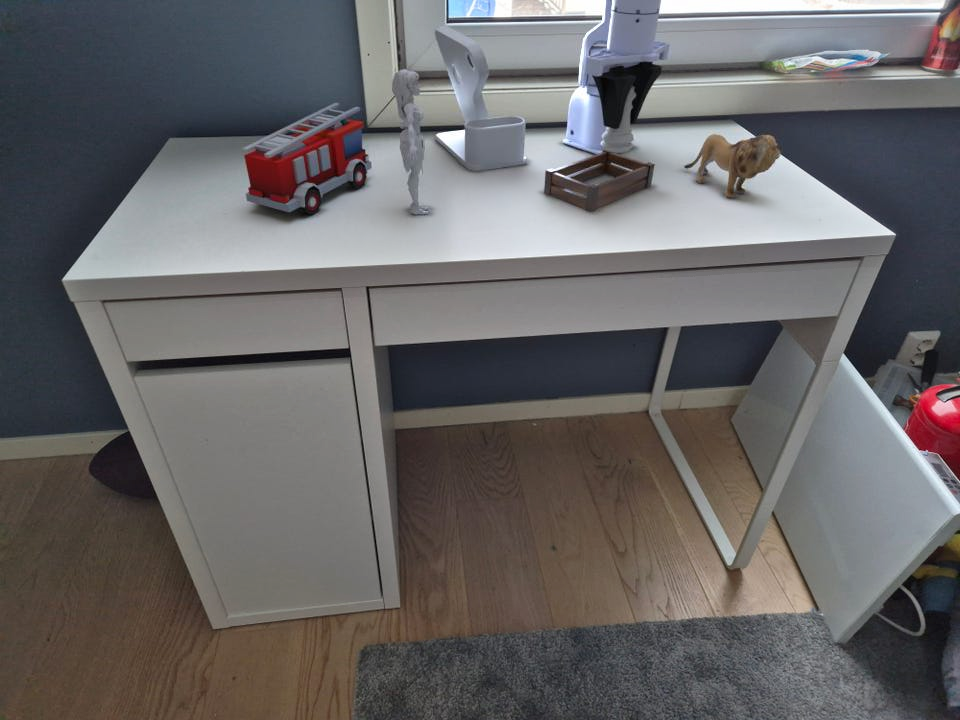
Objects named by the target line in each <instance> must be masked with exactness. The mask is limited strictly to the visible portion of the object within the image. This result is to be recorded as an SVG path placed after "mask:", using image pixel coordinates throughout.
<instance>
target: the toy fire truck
mask: <svg viewBox="0 0 960 720" xmlns="http://www.w3.org/2000/svg"><path fill="white" fill-rule="evenodd" d="M340 105H341V104H340V103H339V102H334V103H332V104H329V105H328V106H326V107H324V108H321V109H319V110H317V111H316V112H313V113H311V114H310V115H307V116H305V117H303V118H301V119H298V120H297V121H295V122H293V123H291V124H289V125H287V126H285V127H283V128H281V129H279V130H276V131H274V132H272V133H270V134H269V135H266V136H265V137H263V138H261V139H259V140H256V141H255V142H253V143H250V144H248V145H246V146H244V147H242V148H241V151H242V153H245V154H244V155H243V156H244V161H245V166H246V171H247V176H248V180H249V187H248V188H247V189H248V192H246V193H245V198H246V202H250V203H253V204H256V205H261V206H265V207H268V208H271V209H276V210H279V211H283V212H286V213H291V212H293V211H296V210H297V209H299V210H300V212H302V213H305V214H309V215H313V216H315V214H316V213H318V212H319V210H320V208H321V205H322V198H323V195H325V194H327V193H328V192H331V191H333V190H334V189H336V188H338V187H340V186H342V185H343V184H345V183H347V184H348V187H352V188H355V189H359V190H360V189H362V187H363V186H365V184H366V181H367V177H368V176H367V174H368V172H369V170H371V169H372V168H373V166H372V161H371V160H370V157H369V154H367V153H366V149H365V148H363V133H362V132H363V131H362V129H365V124H364V121H359V120H354V119H349V117H350V116H352V115H354V114H356V113H358V112H360V111H361V107H360V106H354V107H352V108H350V109H348V110H346V111H342V110H338V108H339V107H340ZM328 113H331V114H328ZM333 114H337V115H333ZM288 133H292V134H291V135H287V134H288Z"/></svg>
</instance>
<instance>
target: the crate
mask: <svg viewBox="0 0 960 720" xmlns="http://www.w3.org/2000/svg"><path fill="white" fill-rule="evenodd" d="M655 165H656V163H653V162H650V161H648V162H643V161H640V160H637V159H634V158H631V157H629V156H625V155H622V154H620V153H613V152H609V151H606V150H603V152H602V153H599V154H593V155H591V156H587V157H584V158H582V159H579V160H576V161H574V162H570V163H568V164H565V165H563V166H559V167H557V168H548V169H545V172H544V173H545V174H544V185H543V186H544V187H543V193H544V194H546V195H548V196H553V197H555V198H558V199H560V200H562V201H565V202H568V203H570V204H572V205H575V206H577V207H579V208H581V209H584V210H585V211H587V212H590V213H592V212H594V211H596V210H597V209H600V208H602V207H604V206H607V205H609V204H611V203H613V202H616V201H618V200H621V199H623V198H625V197H628V196H630V195H632V194H635V193H636V192H639V191H641V190H644V189H648V188H651V187H652V183H653V178H654V171H655V167H656V166H655ZM603 174H607V175H610V176H613V178H611V179H608V180H605V181H603V182H601V183H597V184H593V183H592V184H587V183H585V181H588V180H590V179H593V178H595V177H598V176H601V175H603Z"/></svg>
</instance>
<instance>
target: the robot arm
mask: <svg viewBox="0 0 960 720" xmlns="http://www.w3.org/2000/svg"><path fill="white" fill-rule="evenodd" d="M661 4H662V0H603V10H602V18H601V19H602V21H601V22H600V23H598V24H597V25H595V26H594V27H593V28H592V29H590V30H588V32H586V34H585V35H584V38H583V40H582V45H581V46H582V47H581V50H580V51H581V52H580V60H579V71H578V85H579V87H578V88H576V90H575V91H574V92H573V93H572V95H571V98H570V100H569V105H568V112H567V113H568V115H567V124H566V135H565V136H566V137H565V138H564V139H562V143H563V144H564V145H565V144H566V145H568V146H570V147H574V148H576V149H580V150H583V151H585V152H589V153H592V154H593V155H596V154H599V153H602V152H603V150H604V149H603V148H602V146H601V142H602V141H603V139H602V135H603V133H604V132H605V131H606V128H607V127H610V128H613V129H618V128H619V126H620V124H621V121H622V116H623V111H624V107H625V103H626V99H627V96H628V94H629V91H630V89H631V87H632V86H633V87H635V89H634V91H635V93H636V97H635V98H634V99H633V100H632V106H633V108H632V109H631V113H630V124H636V122H637V120H638V118H639V115H640V113H641V110H642V108H643V106H644V103H645V100H646V98H647V97H648V94H649V92H650V91H651V88H652V87H653V85H654V84H655V82H656V81H657V79H658V78H659V77H660V75H661V74H662V68H663V67H662V66H661V65H659V64H655V63H654V62H657V61H666V60H667V59H668V56H669V50H670V43H668V42H665V41H657V40H656V36H657V35H656V34H657V28H658V22H659V17H660V16H659V15H660V10H661ZM601 45H602V46H601ZM603 45H605V46H603ZM631 143H632V144H633V147H632V148H634V147H635V143H633V142H631ZM613 153H615V152H613Z"/></svg>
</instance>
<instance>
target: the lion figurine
mask: <svg viewBox="0 0 960 720" xmlns="http://www.w3.org/2000/svg"><path fill="white" fill-rule="evenodd" d="M776 141H777V140H776V139H775V137H774V136H772V135H770V134H761V135H757V136H755V137H750V138H749V139H741V140H739V141H737V142H736V143H734V144H733V143H731V142H729V141H728V140H727V139H726V137H724V136H723V135H721V134H716V133H712V134H710V135H708V136H707V137H706V139H705V140H704V142H703V144H702V146H701V148H700V151H699V152H698V154H697V156H696V158H695V159H694V160H693V161H692V162H691V163H688V164H684V165H683V168H684V169H687V170H688V169H689V170H690V169H691V168H693V167H694V166H695V165H697V163H698V162H699V160H700V159H701V161H700V164H699V167H698V169H697V176H696V182H697V183H699V184H703V183H705V182H706V179H705V178H704V176H703V174H704V175H707V174H708V173H709V169H707V166H708V165H709V164H711V163H713V162H715V164H716V165H717V166H718V168H719V169H720V170H722V171H725V172H727V173H728V177H727V184H726V190H725V197H726V198H728V199H734V198H735V197H736V194H735V192H736V193H738V194H741V195H742V194H745V193H746V189H745V188H743V184H744V183H745V181H746V179H747V180H750V179H753V178H755V177H756V176H757V175H758V174H761V173H765V172H766V171H769V170H770V168H772V167H773V165H774V164H775V162H776V160H778V159H779V158H780V157H781V154H782V151H781V149H778V148H777V147H778V143H777V142H776Z"/></svg>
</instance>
